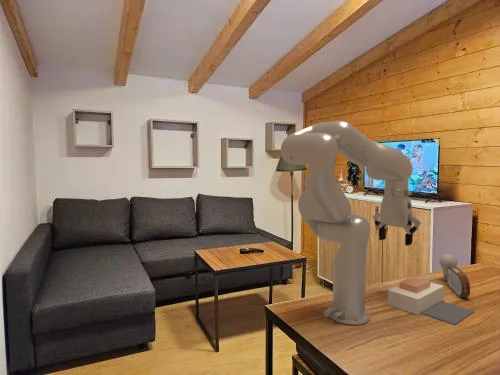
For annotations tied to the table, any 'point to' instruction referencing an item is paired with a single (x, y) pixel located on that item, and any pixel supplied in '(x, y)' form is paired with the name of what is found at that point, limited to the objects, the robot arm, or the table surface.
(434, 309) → the mat
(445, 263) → the lightbulb
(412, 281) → the tile
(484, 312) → the table surface
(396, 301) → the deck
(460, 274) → the tin
